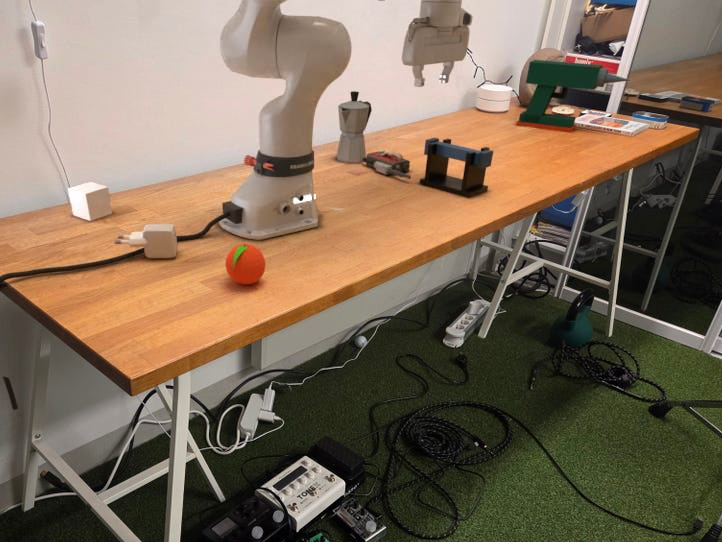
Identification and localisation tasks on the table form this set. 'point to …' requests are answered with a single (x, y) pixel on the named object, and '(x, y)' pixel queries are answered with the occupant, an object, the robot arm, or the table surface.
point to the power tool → (566, 77)
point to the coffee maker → (353, 129)
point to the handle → (460, 153)
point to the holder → (442, 181)
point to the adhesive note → (90, 201)
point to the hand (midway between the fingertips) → (431, 84)
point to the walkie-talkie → (388, 163)
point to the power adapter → (153, 240)
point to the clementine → (245, 264)
